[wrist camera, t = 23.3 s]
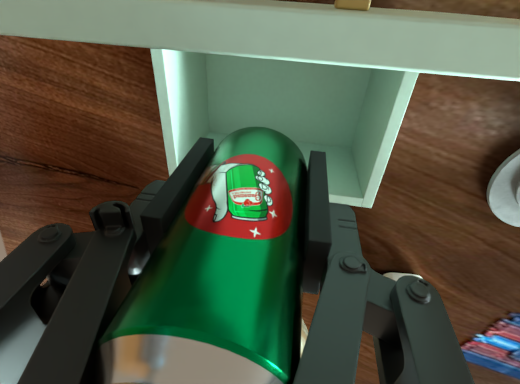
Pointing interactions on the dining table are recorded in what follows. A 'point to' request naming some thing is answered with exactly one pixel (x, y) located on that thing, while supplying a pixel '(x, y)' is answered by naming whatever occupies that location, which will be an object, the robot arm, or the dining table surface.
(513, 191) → the mate gourd
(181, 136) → the chest
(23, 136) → the dining table surface
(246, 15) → the chest lid
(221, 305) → the soda can
